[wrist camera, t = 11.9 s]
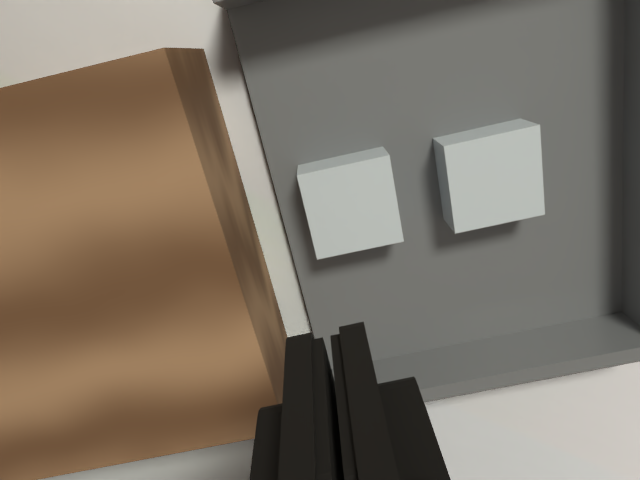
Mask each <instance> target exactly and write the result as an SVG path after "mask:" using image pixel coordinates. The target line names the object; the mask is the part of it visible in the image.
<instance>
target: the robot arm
mask: <svg viewBox="0 0 640 480" xmlns="http://www.w3.org/2000/svg"><path fill="white" fill-rule="evenodd" d="M339 333H340V334H335V335H331V336H330V339H331V349H332V360H333V370H334V377H333V373H332V369H331V366H330V362H329V358H328V354H327V350H326V346H325V343H324V339H323V337H321V338H316V339H314V337H313V334H312V333H307V334H302V335H297V336H293V337H288V338H286V345H285V363H284V381H283V399H282V403H281V404H276V405H272V406H267V407H262V408H260V409H259V411H258V416H257V424H256V432H255V440H254V449H253V457H252V465H251V473H250V480H450V477H449V474H448V471H447V468H446V465H445V462H444V459H443V457H442V454H441V451H440V448H439V445H438V442H437V439H436V436H435V433H434V430H433V427H432V425H431V422H430V419H429V416H428V413H427V410H426V407H425V404H424V401H423V398H422V395H421V393H420V390H419V387H418V384H417V381H416V379H415V377H414V376H413V377H409V378H404V379H399V380H394V381H389V382H384V383H379V384H378V383H377V379H376V374H375V370H374V365H373V361H372V356H371V352H370V348H369V343H368V339H367V334H366V330H365V325H364V322H359V323H354V324H349V325H345V326H340V327H339ZM334 380H335V381H334Z"/></svg>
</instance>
